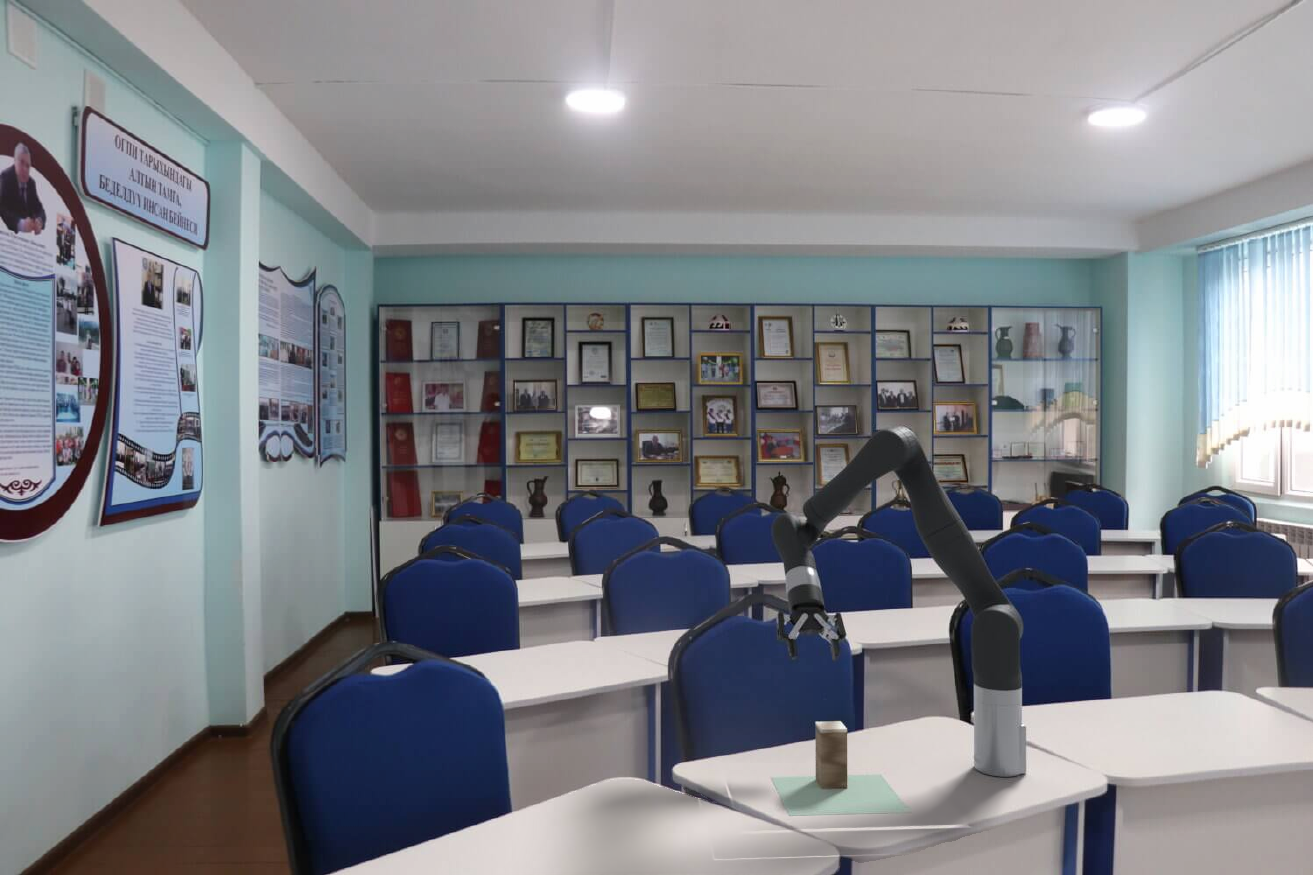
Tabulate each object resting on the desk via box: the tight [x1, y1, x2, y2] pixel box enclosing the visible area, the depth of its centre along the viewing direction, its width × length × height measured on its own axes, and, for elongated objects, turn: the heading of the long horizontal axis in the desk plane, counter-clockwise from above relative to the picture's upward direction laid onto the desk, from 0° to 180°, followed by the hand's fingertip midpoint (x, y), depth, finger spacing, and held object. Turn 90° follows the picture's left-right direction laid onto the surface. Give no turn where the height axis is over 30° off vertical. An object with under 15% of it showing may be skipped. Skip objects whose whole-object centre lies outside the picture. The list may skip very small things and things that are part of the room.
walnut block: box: [814, 720, 848, 789], centre depth 187 cm, size 5×5×11 cm
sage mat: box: [770, 773, 912, 817], centre depth 182 cm, size 22×19×1 cm
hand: (815, 658), depth 200 cm, fingers open, 8 cm apart
